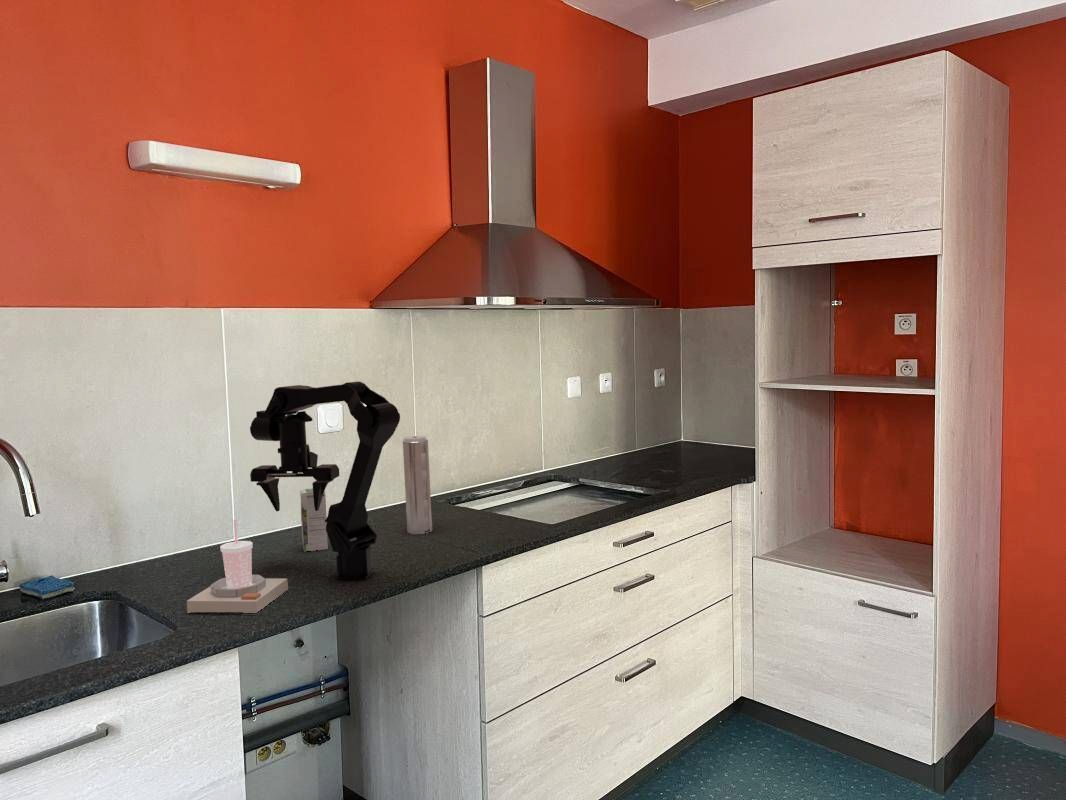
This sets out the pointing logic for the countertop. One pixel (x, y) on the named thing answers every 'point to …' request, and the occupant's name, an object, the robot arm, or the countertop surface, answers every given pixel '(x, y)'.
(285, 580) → the base
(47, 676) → the countertop surface
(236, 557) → the beverage cup
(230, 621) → the countertop surface
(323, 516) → the syrup box
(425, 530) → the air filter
